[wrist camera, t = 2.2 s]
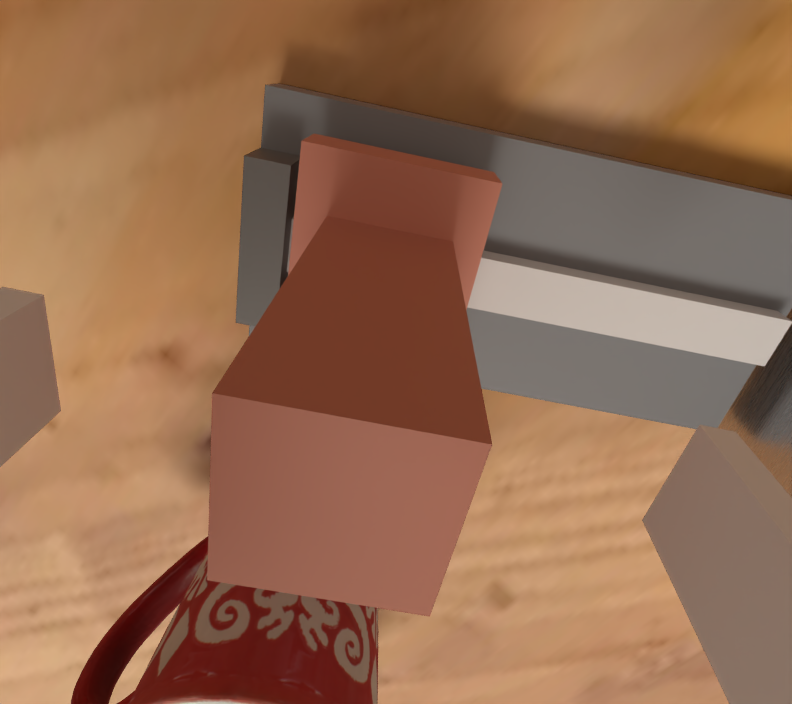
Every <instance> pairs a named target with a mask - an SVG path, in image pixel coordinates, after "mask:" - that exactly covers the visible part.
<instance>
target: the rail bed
mask: <svg viewBox="0 0 792 704" xmlns="http://www.w3.org/2000/svg"><path fill="white" fill-rule="evenodd" d="M312 134H319V135H324V136H328V137H333V138H338V139H342V140H347V141H352V142H356V143H361V144H366V145H370V146H375V147H380V148H384V149H389V150H394V151H398V152H403V153H408V154H412V155H417V156H422V157H426V158H431V159H436V160H440V161H445V162H450V163H454V164H459V165H464V166H468V167H473V168H478V169H482V170H487V171H492V172H494V173H495V174H496V175H497V177H498V178H499V179H500V181H501V182H502V187H501V191H500V194H499V198H498V201H497V205H496V208H495V212H494V215H493V219H492V222H491V226H490V229H489V233H488V236H487V240H486V243H485V247H484V250H483V254H482V257H481V261H480V264H479V268H478V271H477V275H476V278H475V282H474V285H473V289H472V292H471V296H470V299H469V303H468V306H467V310H466V311H467V317H468V322H469V327H470V332H471V337H472V343H473V348H474V353H475V358H476V363H477V368H478V374H479V379H480V384H481V388H482V389H487V390H493V391H498V392H503V393H508V394H514V395H519V396H524V397H529V398H535V399H540V400H545V401H551V402H556V403H561V404H566V405H572V406H577V407H582V408H587V409H593V410H598V411H603V412H608V413H614V414H619V415H624V416H630V417H635V418H640V419H645V420H651V421H656V422H661V423H666V424H672V425H677V426H682V427H688V428H693V429H697V428H698V426H699V425H704V426H709V427H714V428H718V426H719V425H720V423H721V422H722V420H723V418H724V417H725V415H726V414H727V412H728V410H729V409H730V407H731V405H732V404H733V402H734V401H735V399H736V397H737V396H738V394H739V393H740V391H741V389H742V388H743V386H744V385H745V383H746V381H747V380H748V378H749V376H750V375H751V373H752V372H753V370H754V368H755V367H756V365H760V366H765V365H766V363H767V362H768V360H769V359H770V357H771V356H772V354H773V352H774V351H775V349H776V348H777V346H778V344H779V343H780V341H781V340H782V338H783V336H784V335H785V333H786V332H787V330H788V329H789V327H790V325H791V324H792V321H791V320H790V319H788V318H787V315H788V313H789V312H790V310H791V309H792V196H790V195H786V194H781V193H777V192H772V191H768V190H763V189H758V188H754V187H749V186H745V185H740V184H736V183H731V182H726V181H722V180H717V179H713V178H708V177H704V176H699V175H695V174H690V173H685V172H681V171H676V170H672V169H667V168H663V167H658V166H653V165H649V164H644V163H640V162H635V161H631V160H626V159H622V158H617V157H612V156H608V155H603V154H599V153H594V152H590V151H585V150H580V149H576V148H571V147H567V146H562V145H558V144H553V143H549V142H544V141H539V140H535V139H530V138H526V137H521V136H517V135H512V134H507V133H503V132H498V131H494V130H489V129H485V128H480V127H475V126H471V125H466V124H462V123H457V122H453V121H448V120H444V119H439V118H434V117H430V116H425V115H421V114H416V113H412V112H407V111H402V110H398V109H393V108H389V107H384V106H380V105H375V104H371V103H366V102H361V101H357V100H352V99H348V98H343V97H339V96H334V95H329V94H325V93H320V92H316V91H311V90H307V89H302V88H298V87H293V86H288V85H284V84H269V85H265V96H264V111H263V127H262V142H261V148H259V149H257V150H255V151H253V152H251V153H249V154H247V155H245V156H244V169H243V189H242V209H241V228H240V248H239V268H238V288H237V308H236V323H240V324H245V325H250V327H249V336H250V334H251V333H252V331H253V329H254V328H255V326H256V325H257V323H258V322H259V320H260V319H261V317H262V316H263V314H264V312H265V311H266V309H267V308H268V306H269V305H270V303H271V302H272V300H273V298H274V297H275V295H276V294H277V292H278V291H279V289H280V288H281V286H282V285H283V283H284V281H285V280H286V278H287V277H288V271H289V261H290V251H291V241H292V231H293V221H294V211H295V201H296V191H297V181H298V171H299V161H300V151H301V141H302V140H304V139H305V138H307V137H309V136H310V135H312Z"/></svg>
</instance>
